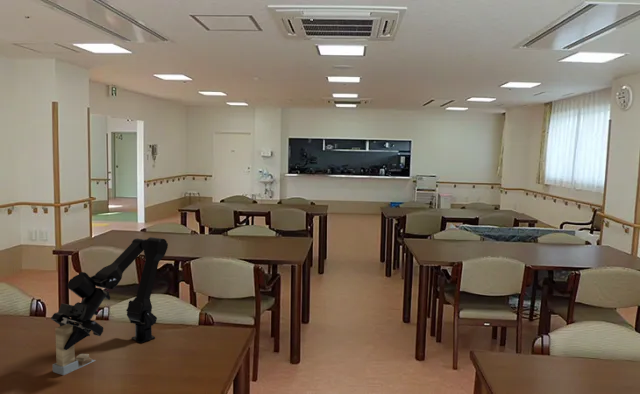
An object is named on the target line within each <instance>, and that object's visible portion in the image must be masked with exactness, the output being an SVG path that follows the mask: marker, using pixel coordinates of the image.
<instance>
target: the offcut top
mask: <svg viewBox="0 0 640 394" xmlns="http://www.w3.org/2000/svg"><path fill="white" fill-rule="evenodd" d="M89 357H90V354H89V353H80V354H78V355H77V356H75V359H76V361H85V360H86V359H88V358H89Z"/></svg>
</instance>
